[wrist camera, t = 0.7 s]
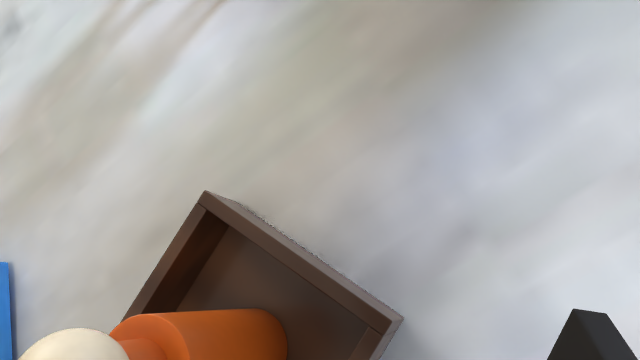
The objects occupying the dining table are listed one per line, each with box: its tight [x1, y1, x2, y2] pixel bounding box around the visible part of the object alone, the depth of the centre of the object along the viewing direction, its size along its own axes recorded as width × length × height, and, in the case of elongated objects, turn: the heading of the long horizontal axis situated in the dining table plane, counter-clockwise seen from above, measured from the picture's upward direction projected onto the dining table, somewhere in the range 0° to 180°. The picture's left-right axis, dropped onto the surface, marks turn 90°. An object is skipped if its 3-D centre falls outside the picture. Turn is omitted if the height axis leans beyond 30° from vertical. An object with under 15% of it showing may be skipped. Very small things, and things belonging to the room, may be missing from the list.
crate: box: [120, 190, 404, 360], centre depth 32 cm, size 15×15×5 cm
